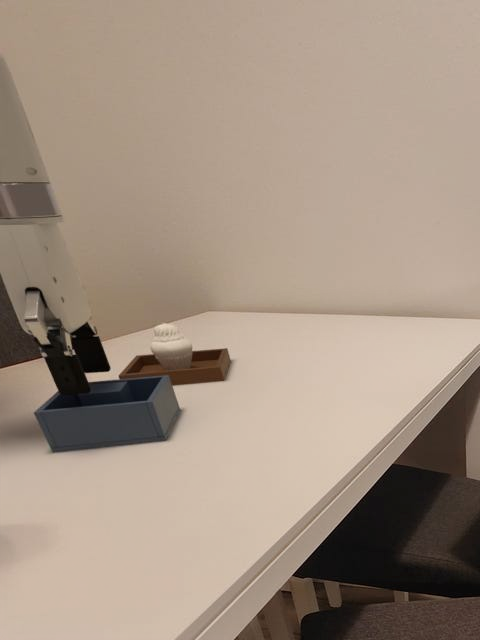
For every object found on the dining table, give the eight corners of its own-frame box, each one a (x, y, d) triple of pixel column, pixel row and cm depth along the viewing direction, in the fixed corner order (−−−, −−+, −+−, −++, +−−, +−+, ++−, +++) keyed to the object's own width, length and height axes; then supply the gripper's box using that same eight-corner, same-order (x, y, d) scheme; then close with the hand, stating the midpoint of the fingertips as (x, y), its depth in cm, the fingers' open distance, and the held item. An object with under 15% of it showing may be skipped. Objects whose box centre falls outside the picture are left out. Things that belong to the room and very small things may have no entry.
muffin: (182, 364, 98) (167, 317, 94) (207, 368, 96) (193, 320, 91) (150, 373, 94) (133, 324, 89) (176, 377, 91) (159, 327, 87)
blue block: (94, 433, 71) (78, 394, 69) (103, 421, 75) (87, 384, 72) (134, 429, 72) (119, 390, 69) (141, 418, 76) (127, 381, 73)
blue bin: (52, 453, 68) (33, 412, 65) (81, 420, 77) (65, 383, 75) (166, 441, 70) (152, 401, 67) (180, 410, 80) (168, 374, 77)
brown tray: (123, 390, 88) (118, 375, 87) (140, 368, 99) (136, 355, 98) (224, 381, 91) (220, 366, 90) (230, 361, 102) (227, 348, 100)
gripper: (7, 203, 66) (73, 366, 77) (-64, 210, 53) (28, 406, 63) (80, 202, 67) (135, 362, 78) (29, 209, 54) (104, 400, 65)
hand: (87, 382), depth 71 cm, fingers open, 9 cm apart
